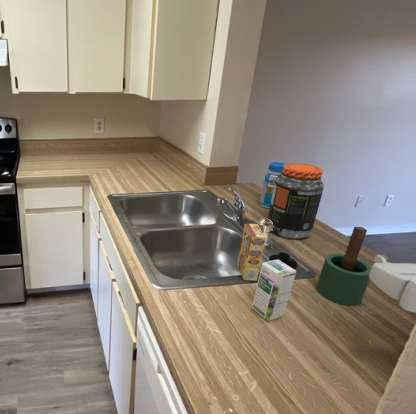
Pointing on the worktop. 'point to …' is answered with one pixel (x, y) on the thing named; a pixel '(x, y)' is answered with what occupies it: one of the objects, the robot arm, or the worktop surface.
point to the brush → (353, 248)
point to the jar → (343, 280)
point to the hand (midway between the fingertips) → (400, 258)
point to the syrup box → (273, 289)
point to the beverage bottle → (270, 183)
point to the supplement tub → (296, 200)
